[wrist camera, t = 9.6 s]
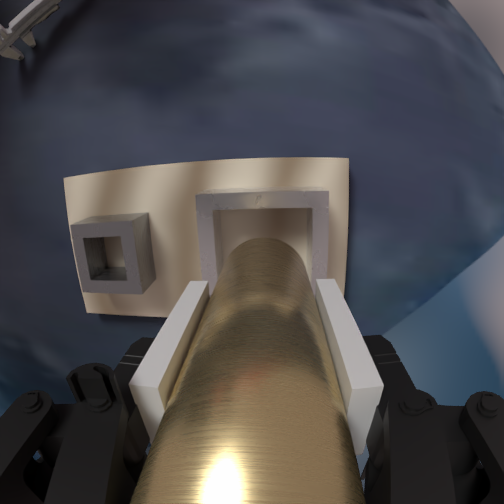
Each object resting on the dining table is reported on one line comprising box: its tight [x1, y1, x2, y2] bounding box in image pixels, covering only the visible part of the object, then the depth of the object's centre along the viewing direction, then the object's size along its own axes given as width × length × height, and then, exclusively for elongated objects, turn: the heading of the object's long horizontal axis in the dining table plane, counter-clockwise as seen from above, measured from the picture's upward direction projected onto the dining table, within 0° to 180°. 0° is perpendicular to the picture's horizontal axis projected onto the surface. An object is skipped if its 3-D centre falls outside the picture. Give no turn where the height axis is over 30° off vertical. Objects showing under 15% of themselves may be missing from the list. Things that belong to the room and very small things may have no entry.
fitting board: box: [64, 157, 349, 317], centre depth 22 cm, size 22×12×4 cm, turn 92°
